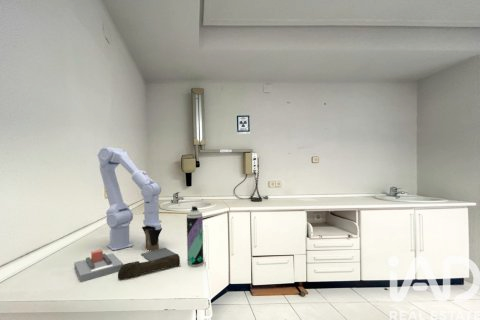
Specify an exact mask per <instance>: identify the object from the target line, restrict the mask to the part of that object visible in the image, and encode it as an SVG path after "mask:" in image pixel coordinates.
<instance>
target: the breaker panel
mask: <svg viewBox="0 0 480 320" xmlns="http://www.w3.org/2000/svg"><path fill="white" fill-rule="evenodd" d="M73 265H74V271H75V273H76V275H77V277H78V280H79V282H80V283H83V282H87V281H90V280H93V279H97V278H100V277H103V276H107V275H110V274H115V273H118V272H119V270H120V268H121V266H123V265H124V263H123V262H122V260H120V259H119V258H118V257H117V256H116V255H115V254H114V252H113V253H112V252H111V253H107V254H106V253H103V261H99V262H95V263H93V262H92V260H91V257H90V256H89V257H85V259H83V260H78V261H75V262H74V264H73Z"/></svg>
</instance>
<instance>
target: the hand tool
mask: <svg viewBox="0 0 480 320" xmlns="http://www.w3.org/2000/svg"><path fill="white" fill-rule="evenodd" d="M180 262H181V258H180V255H179V253H176V254H175V255H173V256H169V257H163V258H160V259H157V260H152V261H148V260H147V261H143V262H142V261H141V262H140V261H138V260H136V261H132V262H127V263H123V266H121V268H120V270H119V271H118V272H117V280H120V281H122V280H128V279H133V278H139V277H140V276H141V275H143V274H147V273H151V272H155V271H159V270H163V269H168V268H173V267H175V266H177V267H178V266H179V267H180V265H181V263H180Z"/></svg>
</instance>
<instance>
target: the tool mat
mask: <svg viewBox="0 0 480 320" xmlns="http://www.w3.org/2000/svg"><path fill="white" fill-rule="evenodd" d="M175 254H177V253H176V252H174V251H172V250H170V249H168V248H167V247H162V248H159V249H155V250H152V251H147V252H143V253H140V256H142V257H143V256H144V257H145V258H144V257H143V258H144V259H145V260H146V261H148V260H149V261H152V260H157V259H160V258H163V257H169V256H173V255H175Z"/></svg>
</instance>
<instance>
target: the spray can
mask: <svg viewBox="0 0 480 320" xmlns="http://www.w3.org/2000/svg"><path fill="white" fill-rule="evenodd" d="M203 223H204V221H203V212H202V211H200V210H199V209H198V206H197V205H195V206H194V205H192V207H191V210H189V212H188V213H186V247H187V253H186V254H187V255H186V256H187V266H188V267H190V268H191V267H192V268H197V267H201V266H202V265H204V233H203V232H204V229H203V228H204V225H203Z"/></svg>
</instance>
